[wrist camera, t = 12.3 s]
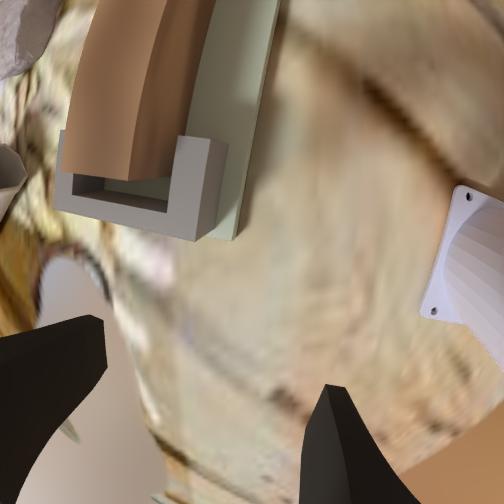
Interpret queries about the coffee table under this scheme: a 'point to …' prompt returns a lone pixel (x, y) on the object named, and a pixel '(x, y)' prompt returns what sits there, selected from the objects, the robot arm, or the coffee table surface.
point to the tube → (10, 176)
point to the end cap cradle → (195, 140)
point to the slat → (134, 87)
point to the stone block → (24, 33)
